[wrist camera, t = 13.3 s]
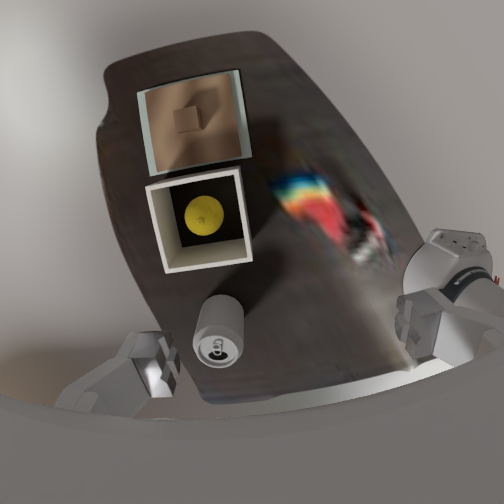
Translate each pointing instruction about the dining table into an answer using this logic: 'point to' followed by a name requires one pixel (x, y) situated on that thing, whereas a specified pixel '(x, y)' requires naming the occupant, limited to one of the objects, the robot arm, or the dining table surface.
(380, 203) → the dining table surface
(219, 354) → the can
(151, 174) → the mat
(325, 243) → the dining table surface
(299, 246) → the dining table surface
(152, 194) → the white open square box
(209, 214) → the lemon
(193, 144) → the lid
